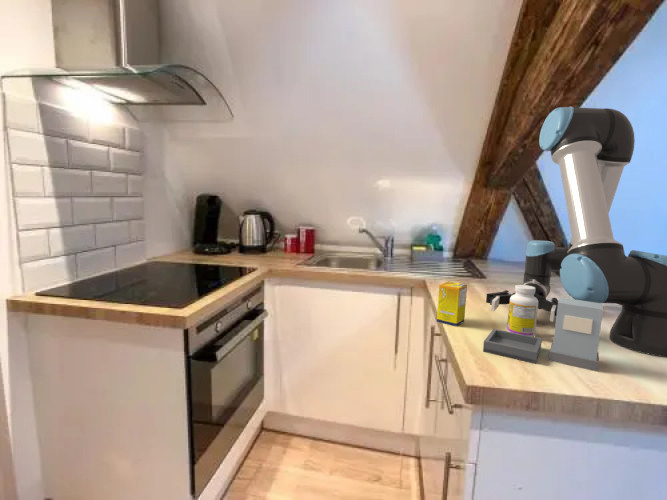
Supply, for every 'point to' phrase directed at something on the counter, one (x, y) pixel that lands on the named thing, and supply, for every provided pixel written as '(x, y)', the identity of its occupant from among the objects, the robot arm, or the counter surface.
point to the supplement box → (451, 303)
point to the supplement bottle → (523, 311)
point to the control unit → (577, 333)
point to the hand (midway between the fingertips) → (521, 310)
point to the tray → (513, 345)
